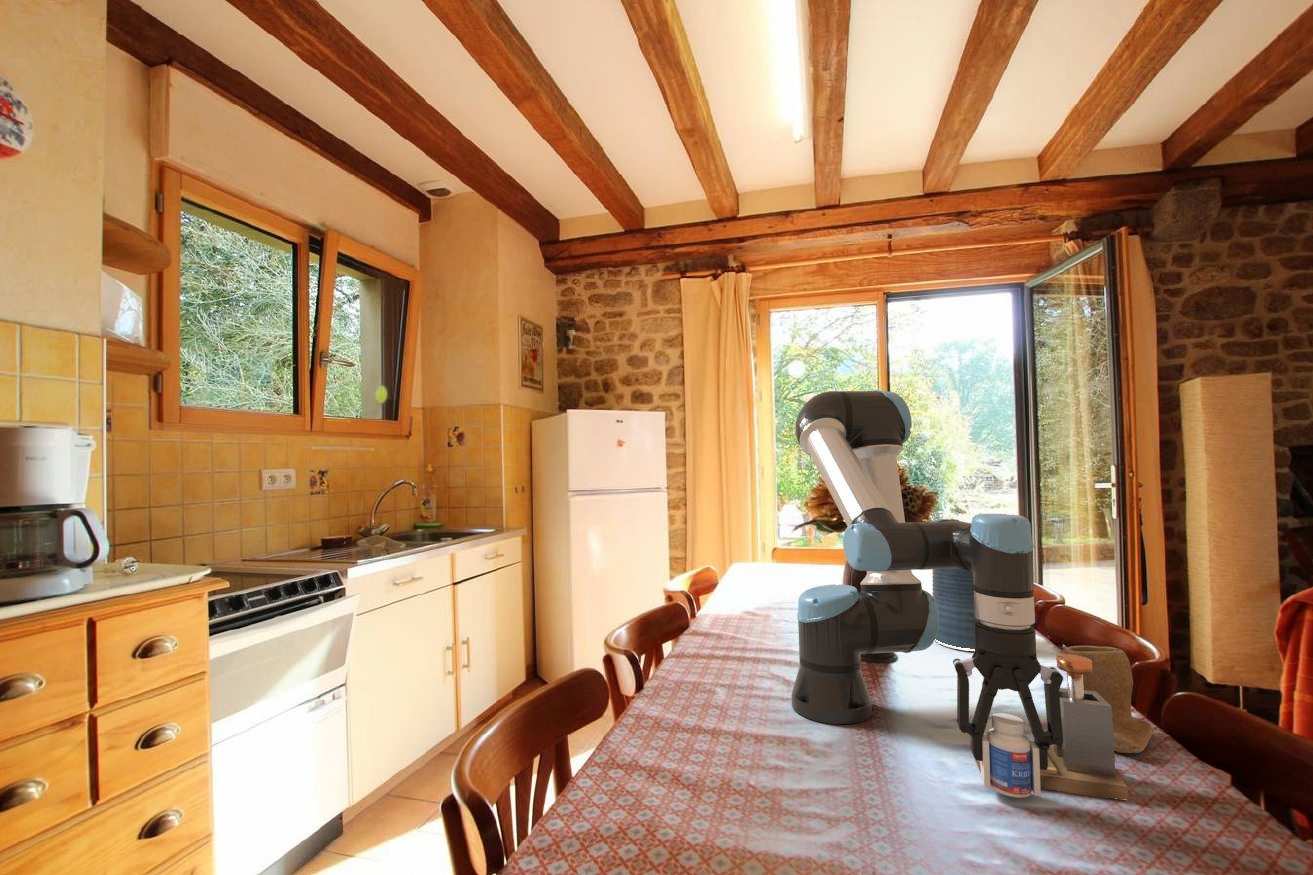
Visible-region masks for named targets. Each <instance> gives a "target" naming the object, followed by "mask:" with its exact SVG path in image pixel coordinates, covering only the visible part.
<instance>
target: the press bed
mask: <svg viewBox="0 0 1313 875" xmlns="http://www.w3.org/2000/svg"><path fill="white" fill-rule="evenodd" d="M986 736H987V734H986ZM969 742H970V746H969V747H970V750H971V751H972V737H971V735H969ZM1047 753H1048V768H1047V770H1042V769H1040V789H1041V790H1046V789H1049V790H1048V791H1053V790H1056V791H1055V792H1060V791H1064V792H1063V793H1067V792H1068V793H1067V794H1076V795H1083V796H1087V797H1088V796H1089V797H1095V796H1097V798H1102V797H1107V798H1106V799H1108V798H1117V799H1127V800H1128V801H1129V791H1128V788H1129V787H1128V785H1127V784H1126V783H1125V781H1123V780H1122V778H1121V777H1120V776H1119V774H1118V773H1117V772H1116V777H1111V776H1104V775H1096V774H1089V773H1081V772H1074V771H1067V770H1066V768H1065V767H1064V765H1063V757H1057V755H1056V754H1055V752H1054V745H1050V748H1049V750H1047ZM975 762H976V765H977V768H978V770H979V773H980V774H981V767H980V761H978V760H975ZM1042 788H1043V789H1042ZM1058 790H1059V791H1058Z"/></svg>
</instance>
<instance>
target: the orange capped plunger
mask: <svg viewBox="0 0 1313 875" xmlns="http://www.w3.org/2000/svg"><path fill="white" fill-rule="evenodd" d="M1055 657H1056V669H1057V670H1061V671H1063V672H1066V682H1067V683H1066V684H1067V689H1068V698H1070V699H1080V700H1084V687H1083V674H1091V673H1092V660H1090V659H1088V658H1086V657H1083V656H1078V655H1072V654H1064V653H1060V654H1056V656H1055Z"/></svg>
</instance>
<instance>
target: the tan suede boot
mask: <svg viewBox="0 0 1313 875" xmlns="http://www.w3.org/2000/svg"><path fill="white" fill-rule="evenodd" d="M1063 654H1072V655H1078V656H1083V657H1086V658H1088V659H1090V660H1092V673H1091V674H1083V687H1084V690H1086V691H1096V692H1097V693H1098V694H1099V695H1100V696H1101V697H1102V698H1103V699H1104V700H1105V701H1106V702H1108V703H1109V704H1110V705H1111V706H1112V722H1113V739H1114V751H1116V753H1119V754H1120V753H1121V754H1139V753H1141V752H1143V751H1144V750H1145V749H1146V747H1147V745H1148V744H1149V742H1150V739H1151V738H1152V734H1153V730H1154V727H1153V725H1152V724H1151V723H1150V722H1148V721H1145V720H1142V719H1139V718H1136V717H1134V716H1133V715H1132V708H1131V707H1132V694H1133V686H1134V678H1133V673H1132V668H1131V663H1130V660H1129V657H1128V656H1127V654H1126V652H1124V650H1122V649H1120V648H1117V647H1112V646H1098V645H1097V646H1096V645H1073V646H1067V647H1065V649H1064V650H1063Z"/></svg>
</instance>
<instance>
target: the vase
mask: <svg viewBox="0 0 1313 875" xmlns="http://www.w3.org/2000/svg"><path fill="white" fill-rule="evenodd" d="M931 570H932V573H931V574H932V576H931V577H932V584H931V585H932V588H931V590H932V593H931V595H932V597H933V598H934V602H935V603H936V605H937V608H938V613H939V628H938V633H937V636H936V640H938V641H940V642H942V643H945V644H948V645H952V646H956V647H961V648H970V649H975V622H976V621H977V620H978V619H977V618H976V617H975V615H974V582H973V573H971V572H968V571H965V570H961V569H931Z"/></svg>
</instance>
